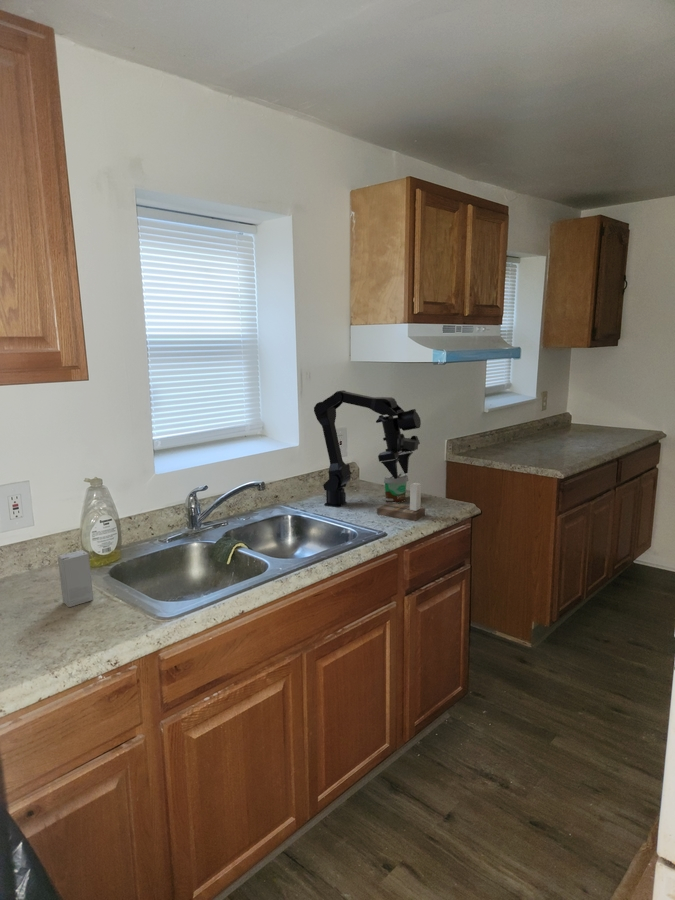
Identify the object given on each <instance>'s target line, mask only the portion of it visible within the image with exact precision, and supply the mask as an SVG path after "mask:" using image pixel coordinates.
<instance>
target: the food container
mask: <svg viewBox="0 0 675 900" xmlns="http://www.w3.org/2000/svg"><path fill="white" fill-rule="evenodd" d="M407 482H409V477H408V473H406V474H405V473H404V471H400V472H399V474H398V478H397V479H394V477H393V476H392V475H391V476H390V477H386V476H385V477H384V479H383V484H384V491H385V492H384V494H385V503H388V502H400V503H403V502H405V501H404V500H406V492H407ZM402 501H403V502H402Z"/></svg>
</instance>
